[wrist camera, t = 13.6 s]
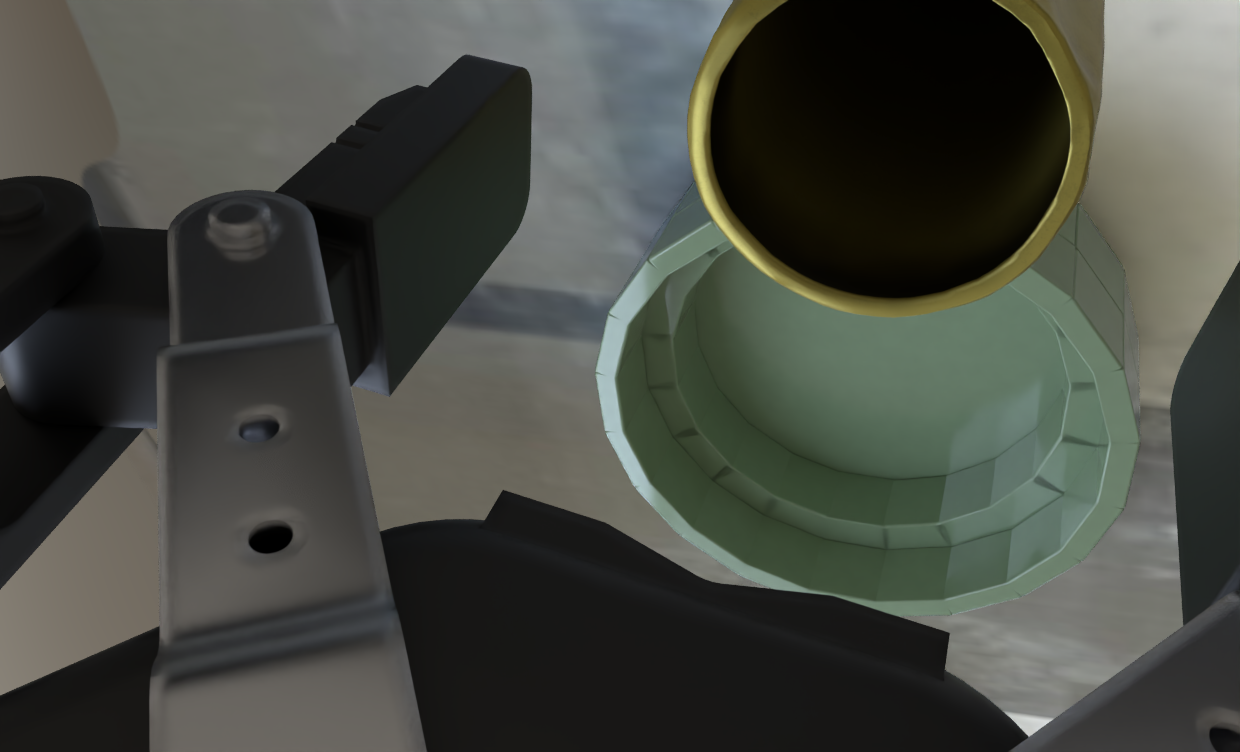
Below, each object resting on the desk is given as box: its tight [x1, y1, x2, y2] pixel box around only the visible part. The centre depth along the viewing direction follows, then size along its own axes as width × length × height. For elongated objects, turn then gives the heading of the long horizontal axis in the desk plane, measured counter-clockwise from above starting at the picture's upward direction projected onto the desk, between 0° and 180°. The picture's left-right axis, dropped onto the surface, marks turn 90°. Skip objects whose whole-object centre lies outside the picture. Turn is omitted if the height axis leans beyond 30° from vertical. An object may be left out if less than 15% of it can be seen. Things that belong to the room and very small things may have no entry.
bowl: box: [595, 181, 1141, 616], centre depth 31 cm, size 14×14×5 cm
